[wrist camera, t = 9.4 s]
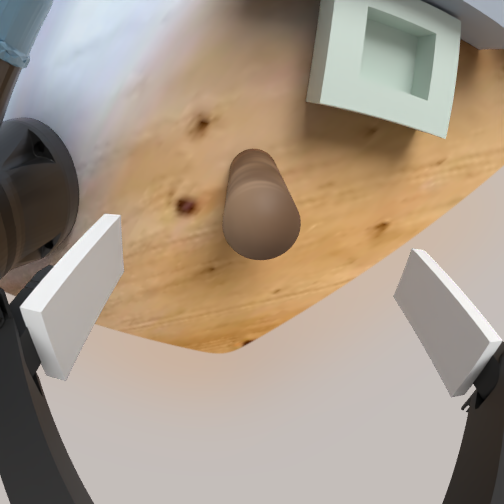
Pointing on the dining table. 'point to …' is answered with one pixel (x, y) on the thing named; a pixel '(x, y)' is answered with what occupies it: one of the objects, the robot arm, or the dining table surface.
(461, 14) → the wall
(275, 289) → the dining table surface
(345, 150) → the dining table surface
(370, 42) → the socket block
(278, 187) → the dowel
